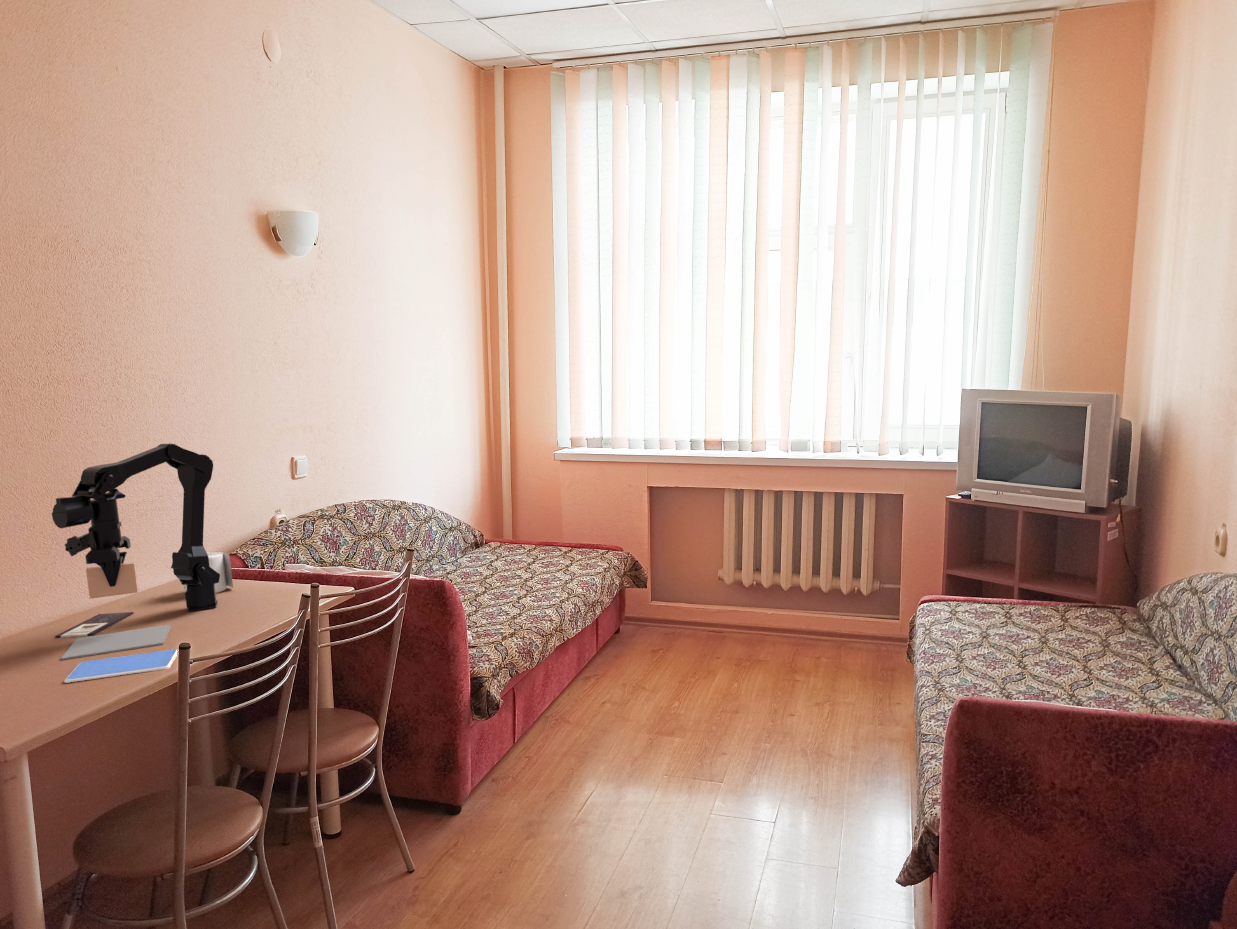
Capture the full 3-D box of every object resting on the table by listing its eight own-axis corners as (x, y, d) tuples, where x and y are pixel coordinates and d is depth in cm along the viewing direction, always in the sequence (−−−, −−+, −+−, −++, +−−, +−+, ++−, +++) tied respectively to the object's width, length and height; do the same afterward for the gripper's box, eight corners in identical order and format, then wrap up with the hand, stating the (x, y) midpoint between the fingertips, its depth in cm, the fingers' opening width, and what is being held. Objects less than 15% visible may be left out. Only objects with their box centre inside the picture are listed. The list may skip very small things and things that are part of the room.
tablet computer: (180, 653, 198) (179, 647, 198) (169, 671, 186) (168, 665, 186) (80, 667, 193) (79, 661, 192) (63, 687, 181) (62, 680, 180)
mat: (171, 625, 218) (171, 624, 218) (163, 644, 203) (163, 642, 203) (76, 640, 212) (76, 638, 212) (61, 660, 197) (61, 658, 197)
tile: (138, 591, 216) (135, 562, 215) (137, 592, 214) (133, 563, 214) (91, 597, 213) (87, 567, 212) (89, 598, 211) (85, 569, 210)
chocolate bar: (133, 612, 232) (92, 633, 214) (133, 615, 232) (93, 637, 215) (98, 614, 232) (54, 635, 215) (99, 617, 233) (55, 639, 215)
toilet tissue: (184, 591, 254) (179, 556, 253) (230, 583, 260) (226, 549, 258) (186, 599, 245) (181, 562, 243) (233, 591, 250) (229, 555, 249)
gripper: (74, 518, 218) (83, 581, 219) (55, 530, 200) (64, 599, 202) (126, 513, 221) (134, 575, 223) (112, 524, 204) (121, 592, 205)
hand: (113, 585), depth 213 cm, fingers closed on tile, 2 cm apart
